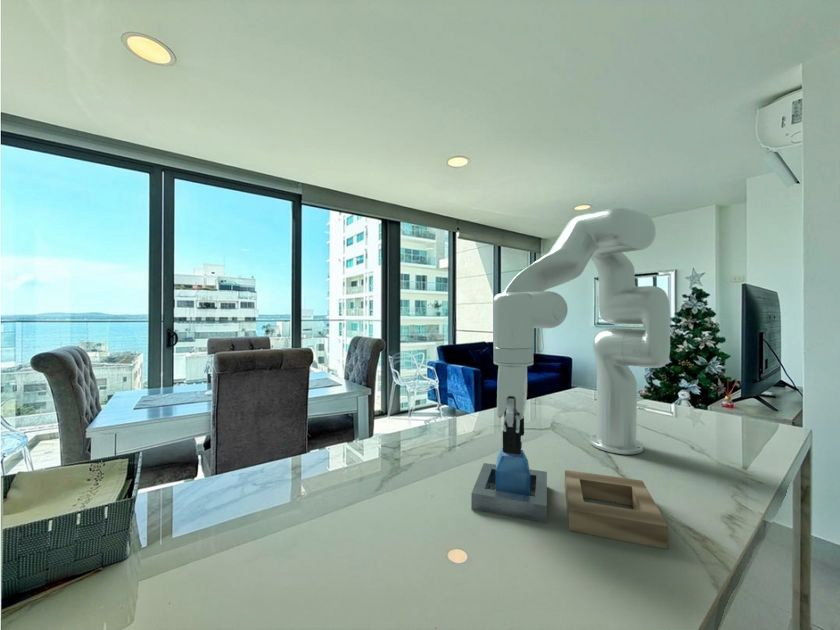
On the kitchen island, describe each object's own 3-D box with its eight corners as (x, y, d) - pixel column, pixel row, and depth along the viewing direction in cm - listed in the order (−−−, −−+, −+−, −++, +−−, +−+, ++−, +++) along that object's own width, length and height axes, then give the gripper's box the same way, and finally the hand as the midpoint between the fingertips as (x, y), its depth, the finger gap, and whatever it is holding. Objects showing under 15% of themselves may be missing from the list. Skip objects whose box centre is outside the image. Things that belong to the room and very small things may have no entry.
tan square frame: (564, 486, 76) (564, 469, 76) (642, 498, 71) (642, 480, 71) (569, 530, 61) (569, 509, 61) (667, 548, 56) (668, 526, 56)
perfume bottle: (529, 507, 68) (530, 442, 68) (495, 503, 70) (496, 439, 69) (527, 491, 74) (528, 431, 74) (496, 487, 76) (496, 429, 75)
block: (483, 476, 80) (483, 462, 80) (546, 486, 76) (546, 471, 76) (471, 509, 67) (471, 493, 67) (546, 523, 63) (546, 505, 63)
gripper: (499, 350, 81) (499, 427, 81) (486, 362, 64) (488, 459, 65) (534, 350, 78) (535, 430, 79) (531, 364, 62) (532, 464, 63)
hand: (514, 443), depth 72 cm, fingers open, 9 cm apart
